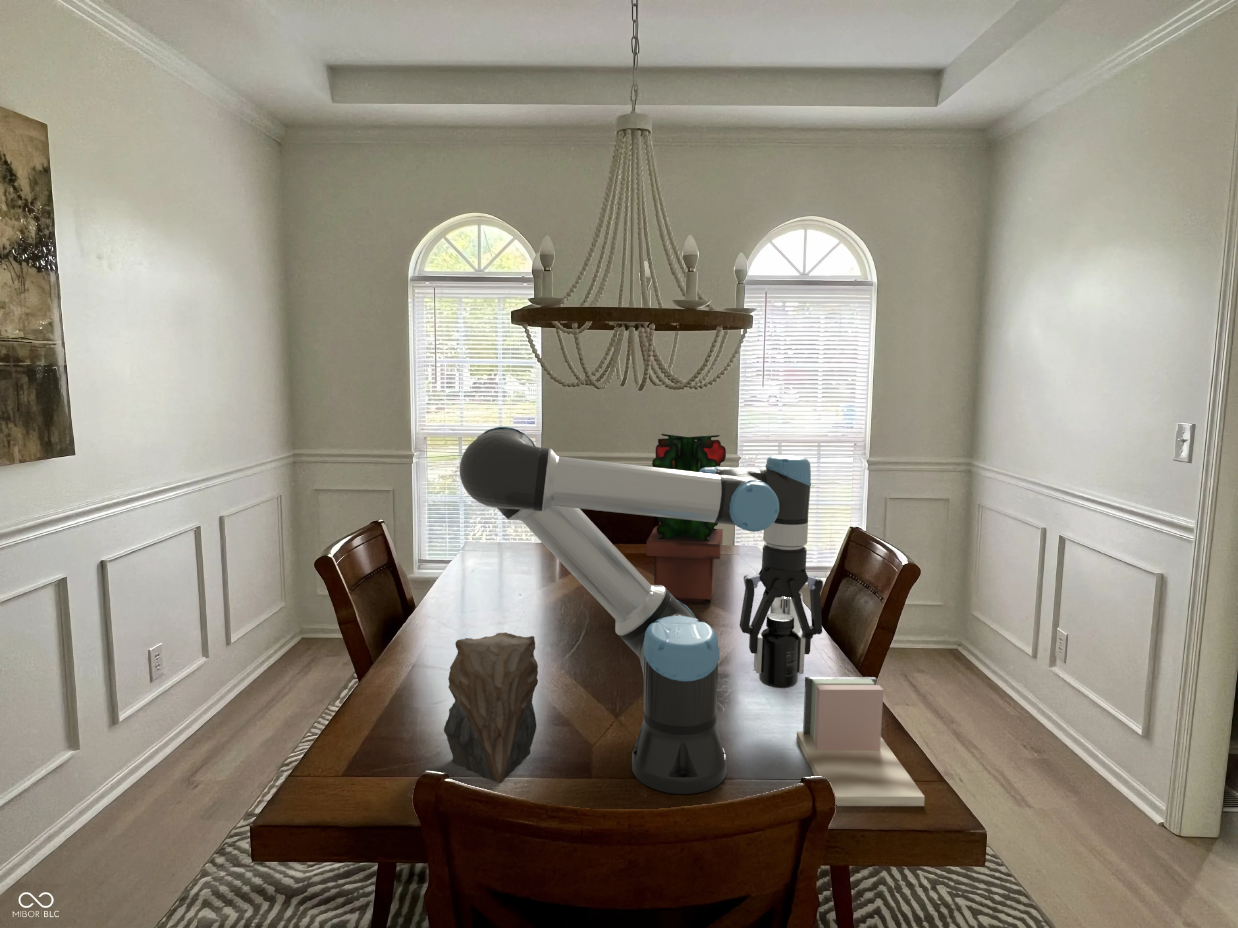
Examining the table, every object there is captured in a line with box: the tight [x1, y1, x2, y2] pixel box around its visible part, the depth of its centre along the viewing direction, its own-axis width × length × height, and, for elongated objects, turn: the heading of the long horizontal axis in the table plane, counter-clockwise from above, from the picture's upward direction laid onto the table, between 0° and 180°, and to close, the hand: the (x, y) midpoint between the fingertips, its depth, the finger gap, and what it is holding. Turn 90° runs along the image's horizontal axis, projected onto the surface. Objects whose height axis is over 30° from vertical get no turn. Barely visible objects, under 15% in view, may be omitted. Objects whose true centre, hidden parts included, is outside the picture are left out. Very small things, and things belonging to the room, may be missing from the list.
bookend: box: [802, 676, 878, 735], centre depth 130 cm, size 1×12×10 cm, turn 91°
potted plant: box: [645, 433, 727, 605], centre depth 210 cm, size 22×22×45 cm
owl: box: [443, 632, 539, 784], centre depth 124 cm, size 13×13×20 cm
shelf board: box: [796, 730, 926, 807], centre depth 121 cm, size 20×14×2 cm
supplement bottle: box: [758, 613, 799, 689], centre depth 134 cm, size 7×7×12 cm
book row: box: [810, 679, 884, 750], centre depth 127 cm, size 5×10×10 cm, turn 91°
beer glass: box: [769, 591, 804, 633], centre depth 166 cm, size 7×7×15 cm
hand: (778, 670), depth 135 cm, fingers closed on supplement bottle, 7 cm apart
